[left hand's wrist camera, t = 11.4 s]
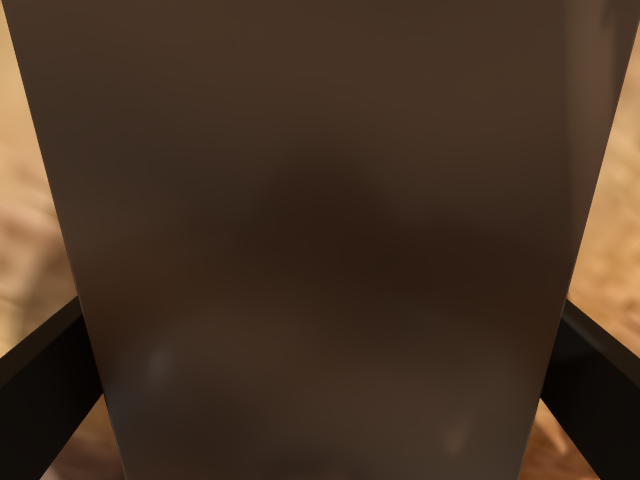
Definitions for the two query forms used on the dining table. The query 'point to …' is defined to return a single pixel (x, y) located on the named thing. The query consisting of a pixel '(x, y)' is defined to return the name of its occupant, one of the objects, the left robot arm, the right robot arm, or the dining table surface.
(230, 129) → the wooden chest box
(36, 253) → the dining table surface
